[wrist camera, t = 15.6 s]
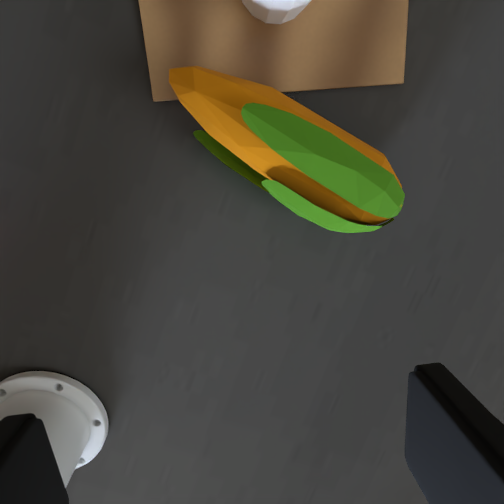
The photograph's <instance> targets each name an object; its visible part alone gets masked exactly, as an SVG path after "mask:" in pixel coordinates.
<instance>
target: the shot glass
mask: <svg viewBox="0 0 504 504" xmlns="http://www.w3.org/2000/svg"><path fill="white" fill-rule="evenodd" d="M310 2H311V0H242V3H243V4H244V5H245V7H246V8H247V9H248V10H249V12H250V13H251V14H252V16H254V17H256V18H257V19H259V20H261V21H263V22H265V23H270V24H282V23H285V22H287V21H290V20H292V19H294V18H295V17H296V16H297V15H298V14H299V13H300V12H301V11H302V10H303V9H304V8H305V7H306V6H307V5H308V4H309V3H310Z"/></svg>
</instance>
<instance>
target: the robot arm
mask: <svg viewBox="0 0 504 504" xmlns="http://www.w3.org/2000/svg"><path fill="white" fill-rule="evenodd" d="M108 423H109V422H108V417H107V413H106V411H105V408H104V406H103V404H102V403H101V401H100V400H99V398H98V397H97V396H96V395H95V394H94V393H93V392H92V391H91V390H90V389H89V388H88V387H86V386H85V385H83V384H82V383H80V382H79V381H76V380H74V379H72V378H70V377H68V376H65V375H61V374H58V373H53V372H46V371H29V372H23V373H18V374H16V375H13V376H10V377H8V378H6V379H4V380H3V381H1V382H0V504H69V498H68V494H67V491H66V486H67V484H68V482H69V480H70V478H71V476H72V474H73V472H74V470H75V469H76V468H79V467H81V466H83V465H85V464H87V463H88V462H89V461H91V460H92V459H93V458H94V457H95V456H96V455H97V454H98V453H99V451H100V450H101V448H102V446H103V444H104V442H105V439H106V436H107V433H108ZM405 458H406V461H407V464H408V467H409V469H410V471H411V472H412V474H413V476H414V478H415V479H416V481H417V483H418V485H419V487H420V488H421V490H422V492H423V494H424V495H425V497H426V499H427V501H428V502H429V504H504V425H503V424H502V423H501V422H500V421H499V420H498V419H497V418H496V417H494V416H493V415H492V414H491V413H490V412H489V411H488V410H487V409H486V408H485V407H484V406H483V405H482V404H481V403H480V402H479V401H478V400H477V399H476V398H475V397H474V396H473V395H472V394H471V393H470V392H469V391H468V390H467V389H466V388H465V387H464V386H463V384H462V383H461V382H460V381H459V380H458V379H457V378H456V377H455V376H454V375H453V374H452V373H451V372H450V371H449V370H448V369H447V368H446V367H445V366H444V365H442V364H441V363H431V364H423V365H417V366H416V367H415V369H414V372H410V373H409V379H408V398H407V417H406V436H405Z"/></svg>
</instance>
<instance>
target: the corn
mask: <svg viewBox="0 0 504 504" xmlns="http://www.w3.org/2000/svg"><path fill="white" fill-rule="evenodd" d="M169 83H170V85H171V87H172V88H173V90H174V92H175V94H176V95H177V97H178V99H179V101H180V102H181V104H182V105H183V106H184V107H185V108H186V109H187V110H188V111H189V113H190V114H191V115H192V116H193V117H194V118H195V119H196V120H197V122H198V123H199V124H200V125H201V126H202V127H203V128H204V129H205V131H206V132H205V131H202V130H196V131H194V132H193V135H194V136H195V137H196V138H197V139H198V140H199V141H200V142H201V143H202V144H203V145H204V146H205V147H206V148H207V149H208V150H209V151H210V152H211V153H212V154H214V155H215V156H216V157H217V158H218V159H219V160H221V161H222V162H223V163H224V164H225V165H227V166H228V167H230V168H231V169H233V170H234V171H236V172H237V173H239V174H240V175H242V176H243V177H245V178H246V179H248V180H249V181H251V182H252V183H254V184H256V185H257V186H259V187H260V188H262V189H263V190H265V191H267V192H269V193H271V194H272V195H273V197H274V198H275V199H276V200H278V201H279V202H281V203H282V204H283V205H285V206H286V207H287V208H289V209H290V210H292V211H293V212H294V213H296V214H297V215H299V216H301V217H303V218H305V219H307V220H309V221H311V222H313V223H315V224H317V225H320V226H322V227H324V228H326V229H328V230H331V231H338V232H345V233H358V232H369V231H375V230H376V229H378V228H380V227H382V226H384V225H386V224H388V223H390V222H391V221H393V220H394V219H393V218H392V217H394V216H397V215H398V213H399V212H400V210H401V209H402V206H403V201H404V197H405V194H404V192H403V190H402V185H401V183H400V182H399V180H398V178H397V176H396V174H395V173H394V171H393V169H392V167H391V166H390V164H389V162H388V160H387V158H386V157H385V155H384V154H383V153H381V152H380V151H378V150H376V149H375V148H373V147H371V146H370V145H368V144H366V143H365V142H363V141H361V140H360V139H358V138H356V137H355V136H353V135H351V134H350V133H348V132H346V131H345V130H343V129H341V128H339V127H338V126H336V125H334V124H333V123H331V122H329V121H328V120H326V119H324V118H323V117H321V116H319V115H318V114H316V113H314V112H313V111H311V110H309V109H308V108H306V107H304V106H303V105H301V104H299V103H298V102H296V101H294V100H293V99H291V98H289V97H288V96H286V95H284V94H283V93H281V92H279V91H278V90H276V89H274V88H273V87H270V86H266V85H263V84H259V83H256V82H252V81H249V80H245V79H242V78H238V77H235V76H231V75H228V74H224V73H221V72H217V71H214V70H210V69H207V68H203V67H200V66H188V67H178V68H172V69H169ZM390 218H392V219H390ZM389 219H390V220H389ZM387 220H389V221H388V222H386V223H384V224H381V225H379V226H365V225H377V224H379V223H382V222H384V221H387Z"/></svg>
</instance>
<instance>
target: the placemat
mask: <svg viewBox="0 0 504 504" xmlns="http://www.w3.org/2000/svg"><path fill="white" fill-rule="evenodd" d="M138 1H139V7H140V14H141V21H142V28H143V34H144V41H145V48H146V54H147V61H148V68H149V75H150V81H151V88H152V95H153V101H154V102H158V101H172V100H179V99H178V97H177V95H176V94H175V92H174V90H173V88H172V87H171V85H170V83H169V69H172V68H178V67H188V66H200V67H203V68H207V69H210V70H214V71H217V72H221V73H224V74H228V75H231V76H235V77H238V78H242V79H245V80H249V81H252V82H256V83H259V84H263V85H266V86H270V87H273V88H274V89H276V90H278V91H279V92H281V93H282V92H296V91H310V90H323V89H337V88H351V87H365V86H379V85H392V84H402V83H404V67H405V50H406V34H407V17H408V1H409V0H311V2H310V3H309V4H308V5H307V6H306V7H305V8H304V9H303V10H302V11H301V12H300V13H299V14H298V15H297V16H296V17H295V18H294V19H292V20H290V21H287V22H285V23H282V24H270V23H265V22H263V21H261V20H259V19H257V18H256V17H254V16H252V14H251V13H250V12H249V10H248V9H247V8H246V7H245V5H244V4H243V3H242V0H138Z"/></svg>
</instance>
